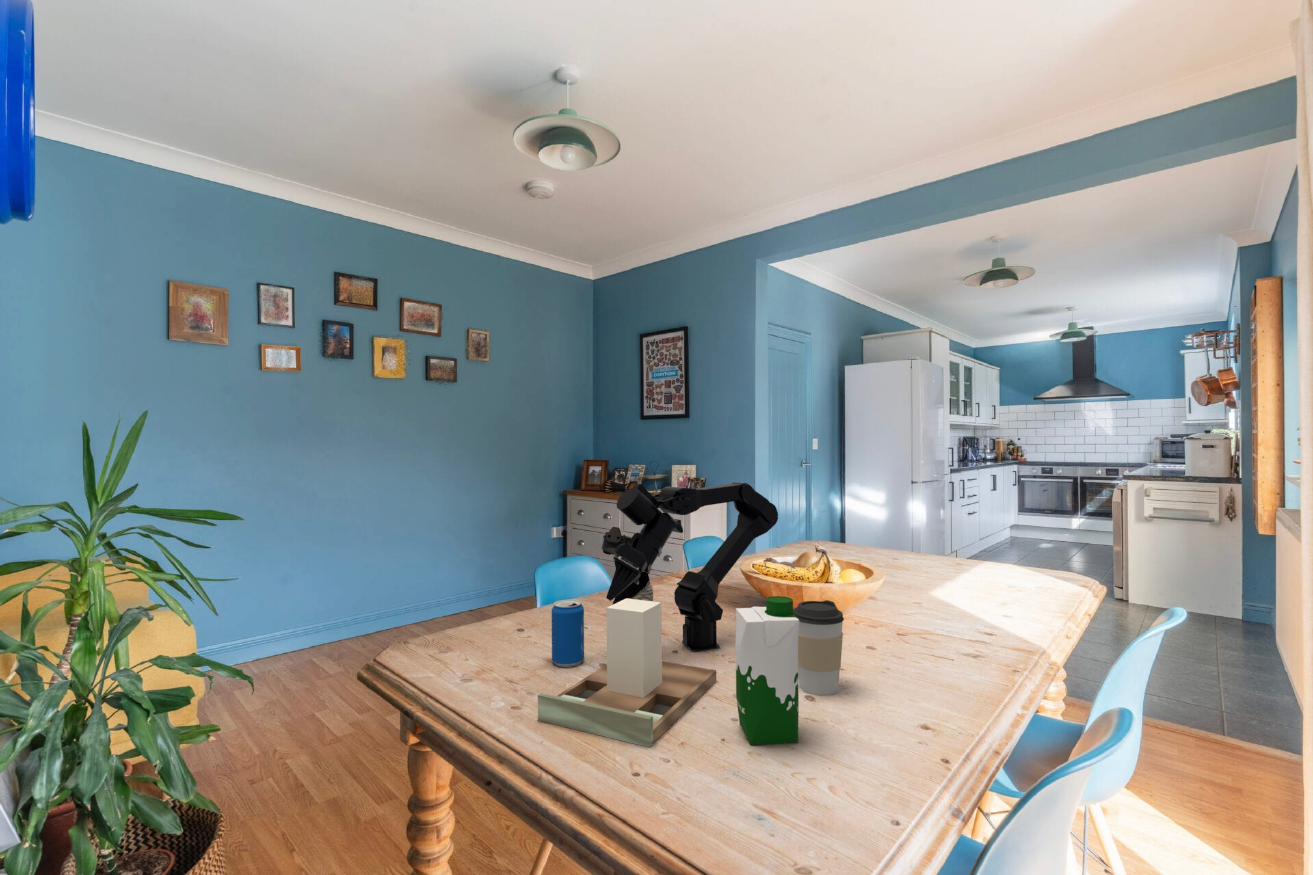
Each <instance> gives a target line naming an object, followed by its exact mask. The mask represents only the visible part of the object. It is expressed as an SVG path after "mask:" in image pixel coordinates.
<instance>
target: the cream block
mask: <svg viewBox="0 0 1313 875" xmlns="http://www.w3.org/2000/svg"><path fill="white" fill-rule="evenodd" d="M612 604H613V603H612ZM662 622H663V621H662V602H660V601H654V600H653V601H645V600H636V599H628V598H626V599H624V600H622V601H620V602H618V603H616V604H613V605H609V606H608V607H606V664H607V691H612V692H617V693H622V694H627V695H632V696H637V697H642V698H644V697H645V696H646V695H648V694H649V693H650V692H651V691H653V690H654V689H655V688H656V687H657V686H659V685H660V684H661V683H662V661H663V650H662V649H663V645H662V644H663V640H662V638H663V633H662V631H663V628H662V626H663V625H662Z"/></svg>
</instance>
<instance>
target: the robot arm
mask: <svg viewBox="0 0 1313 875" xmlns="http://www.w3.org/2000/svg"><path fill="white" fill-rule="evenodd" d="M731 502H732V503H733V505H734V508H735V510H736V511H737V513H738V515H737V519H736V520H737V521H736V526H735V527H734V529H733V530H732V531H731V533H729V535H728V537H727V538H726V539H725V540H724V541H723V543H722V544H721V545H720V546H719V547H718V549H717V550H716V551H715V552H714V553H713V555H712V556H711V557H710V559H709V560H708V561H707V562H706V564H705V565H704V566H703V567H702V568H701V570H700V571H699V570H698V572H694V571H690V570H688V571H687V572H686V573H685V574H684V575H683V577H682V578H681V579H680V581H678V582H677V583H676V588H675V590H674V592H673V594H674V599H673V600H674V603H675V606H676V607H677V608H678V611H679V613H680V615H681V616H684V623H683V624H682V640H681V643H682V644H683V645H684V646H686V647H687V649H689V650H690V651H691V652H700V651H701V652H702V651H707V650H716V649H721V645H720V644H718V643H717V639H718V638H717V636H718V635H717V632H718V631H717V621H721V620H722V618H723V617H722V616H723V613H724V609H723V608H722V607H721V606H720V605H719V604H718V603H717V602H716V600H717V598H718V593H719V585H720V583H722V581H723V580H724V578H725V577H726V576H727V575H728V574H729V572H730V571H731V570H732V568H733V567H734V565H735V564H736V563H737V562H738V560H739V559H740V558H741V557H742V556H743V554H744V553H745V551H746V550H747V549H748V547H749V546H750V545H751V544H752V542H753V541H754V540H755V539H756V538H759V537H761V536H763V535H764V534H766V533H768V532H769V531H770V530H771V529H772V528H773V527H775V526H776V524H777V522H778V521H779V514H778V512H779V511H778V509H777V507H776V505H775V504H774V503H772V502H770V500H769V499H768V498H766V497H765V496H764V495H762V494H761V493H759V492H757V491H756V490H755V488H753V487H752V486H751V485H750V484H749V483H747V482H731V483H728V484H727V483H726V484H720V485H719V484H718V485H713V486H704V487H698V488H688V487H676V486H665V487H662V488H661V490H660V492H659V493H657V494H653V495H652V494H651V493H650V492H649V490H647V489H646V487H645V486H644V485H643V484H642V483H634V485H633V486H632V487H630V488H629V489H627V490H625V492H624V493H622V494H621V495H620V496H619V497H618V500H617V501H616V509H618V511H620V512H621V513H622V514H623V515H624V516H625V517H626V518H628V520H630V521H631V522H633V524H635V525H636V526H642V525H643V526H642V528H641V529H640V530H639V532H637V531H636V533H635V532H634V534H633V535H632V537H628V536H626V534H623V535H622V531H621V529H620V528H621V527H619V526H617V527H616V526H612V527H611V528H610V530H608V531H605V533H604V534H603V536H602V538H603V540H602V544H601V550H602V553H603V554H605V555H608V556H611V555H614V556H613V562H614V567H615V571H614V574H613V577H612V580H611V583H610V585H609V588H608V591H607V593H606V599H607V600H608V601H612V605H613V604H616V603H618V602H620V601H622V600H624V599H626V598H628V599H633V598H634V597H636V596H637V595H639V594H640V593H642V592H644V590H645V591H646V590H647V588H648V586H649V585H650V582H651V580H650V576H649V575H650V573H651V571H652V566H653V564H654V563H655V561H656V559H657V558H658V557H659V558H660V556H661V555H662V553H663V552H662V551H663V550H662V549H663V548H664V546H665V545H666V543H667V542H668V540H669V538H670V537H671V535H672V533H673V532H674V533H679V534H682V533H684V528H683V525H682V519H679V518H678V519H677V518H673V516H671V515H678V516H687V515H689V514H692V513H694V512H697V511H698V510H700V509H701V508H703V507H706V506H712V505H718V504H719V505H720V504H724V503H731ZM619 557H620V558H619Z"/></svg>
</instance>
